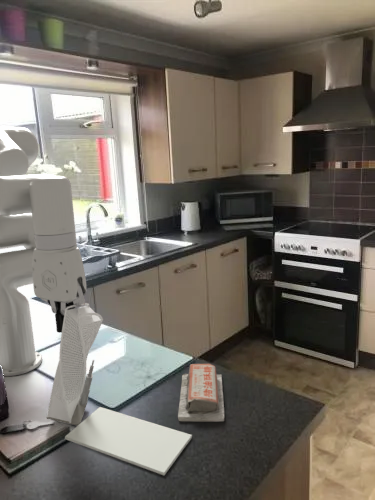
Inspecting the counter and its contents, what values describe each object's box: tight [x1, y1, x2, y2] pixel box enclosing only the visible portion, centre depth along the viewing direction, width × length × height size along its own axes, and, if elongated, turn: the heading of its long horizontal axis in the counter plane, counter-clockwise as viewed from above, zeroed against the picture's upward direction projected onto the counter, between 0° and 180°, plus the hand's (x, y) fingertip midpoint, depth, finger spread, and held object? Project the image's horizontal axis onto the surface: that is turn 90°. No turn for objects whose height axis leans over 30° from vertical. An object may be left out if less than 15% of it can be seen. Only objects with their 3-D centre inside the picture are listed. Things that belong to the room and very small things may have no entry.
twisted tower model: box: [46, 302, 104, 427], centre depth 84 cm, size 8×8×28 cm
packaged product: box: [177, 363, 225, 423], centre depth 95 cm, size 18×5×10 cm
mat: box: [64, 406, 193, 476], centre depth 83 cm, size 23×11×1 cm, turn 63°
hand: (65, 330), depth 83 cm, fingers closed
